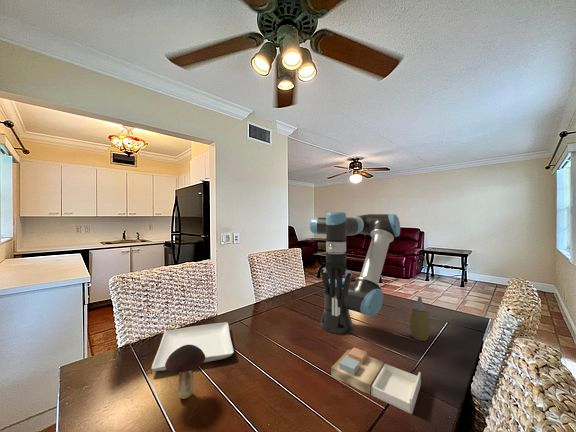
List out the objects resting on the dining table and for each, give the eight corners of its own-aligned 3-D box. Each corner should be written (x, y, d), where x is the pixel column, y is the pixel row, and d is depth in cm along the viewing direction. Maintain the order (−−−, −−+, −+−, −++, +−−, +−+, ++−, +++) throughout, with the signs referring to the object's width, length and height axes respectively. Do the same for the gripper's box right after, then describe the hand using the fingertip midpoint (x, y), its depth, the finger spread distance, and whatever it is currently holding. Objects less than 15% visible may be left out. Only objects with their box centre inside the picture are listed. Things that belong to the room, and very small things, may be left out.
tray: (371, 395, 70) (371, 381, 70) (384, 371, 81) (384, 359, 81) (412, 414, 63) (412, 399, 63) (420, 385, 74) (420, 372, 74)
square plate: (164, 338, 103) (164, 330, 103) (228, 329, 112) (228, 321, 112) (150, 378, 77) (150, 367, 77) (234, 362, 86) (234, 351, 86)
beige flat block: (331, 376, 78) (331, 367, 78) (348, 356, 89) (348, 349, 89) (370, 394, 70) (370, 384, 70) (383, 370, 81) (383, 362, 81)
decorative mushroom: (209, 383, 75) (209, 336, 75) (197, 411, 64) (197, 356, 64) (175, 384, 74) (175, 337, 75) (156, 413, 63) (157, 357, 64)
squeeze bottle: (433, 343, 98) (433, 301, 99) (413, 341, 100) (412, 299, 100) (426, 334, 106) (426, 294, 107) (407, 332, 108) (407, 293, 108)
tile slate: (339, 369, 77) (339, 362, 77) (345, 361, 81) (345, 355, 81) (353, 375, 74) (353, 369, 74) (359, 367, 78) (359, 361, 78)
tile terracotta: (348, 358, 83) (348, 353, 83) (353, 352, 87) (353, 347, 87) (362, 364, 80) (362, 358, 80) (367, 357, 84) (367, 352, 84)
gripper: (315, 252, 90) (315, 313, 90) (348, 255, 82) (348, 323, 81) (325, 249, 96) (325, 307, 96) (357, 253, 88) (357, 316, 87)
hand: (336, 314), depth 89 cm, fingers closed
